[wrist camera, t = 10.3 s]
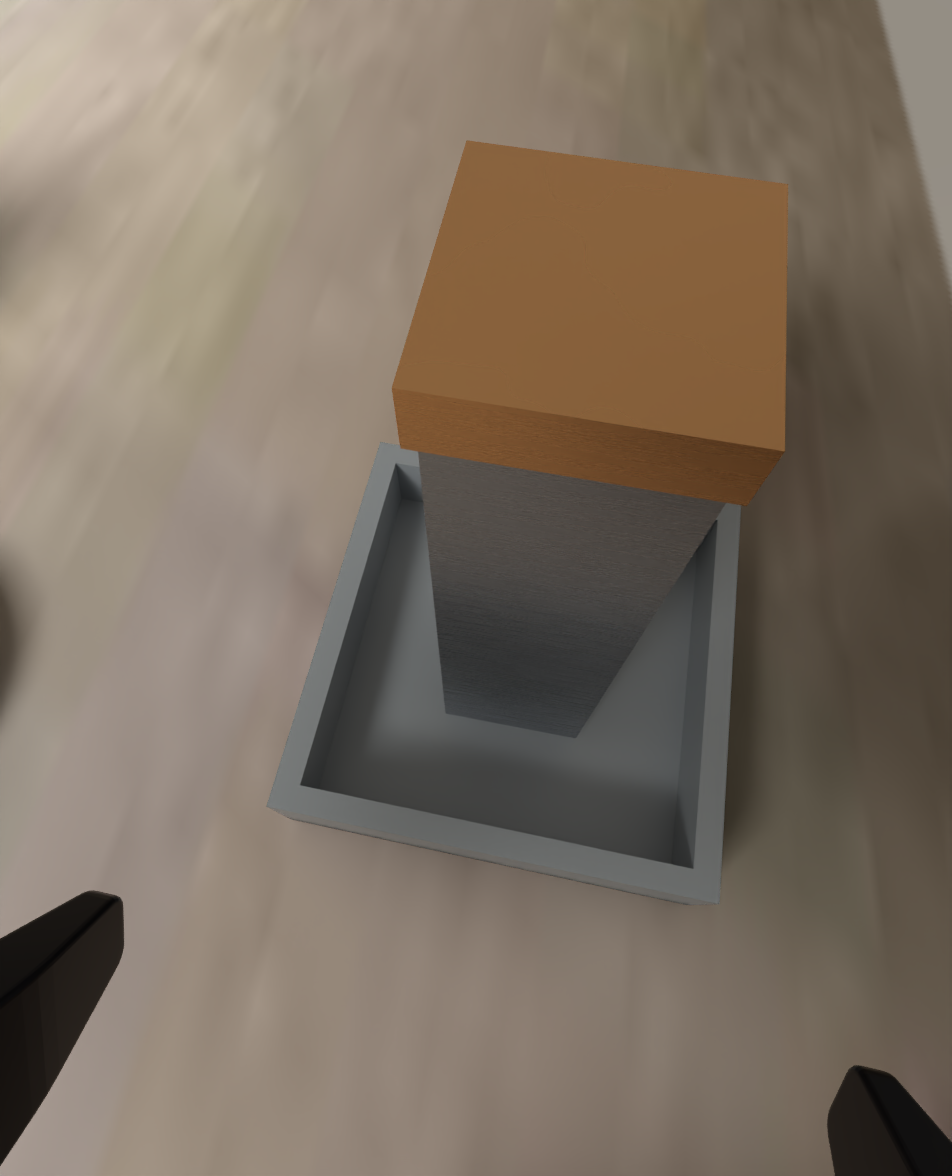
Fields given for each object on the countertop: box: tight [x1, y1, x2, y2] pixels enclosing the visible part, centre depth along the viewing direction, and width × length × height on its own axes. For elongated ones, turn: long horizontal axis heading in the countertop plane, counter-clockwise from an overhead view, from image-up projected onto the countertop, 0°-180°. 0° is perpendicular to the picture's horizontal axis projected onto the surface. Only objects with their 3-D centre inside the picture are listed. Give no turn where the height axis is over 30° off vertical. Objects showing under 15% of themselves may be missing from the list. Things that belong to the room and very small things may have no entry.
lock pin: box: [392, 141, 788, 738], centre depth 14 cm, size 4×4×13 cm
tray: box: [267, 442, 741, 905], centre depth 19 cm, size 10×10×2 cm
